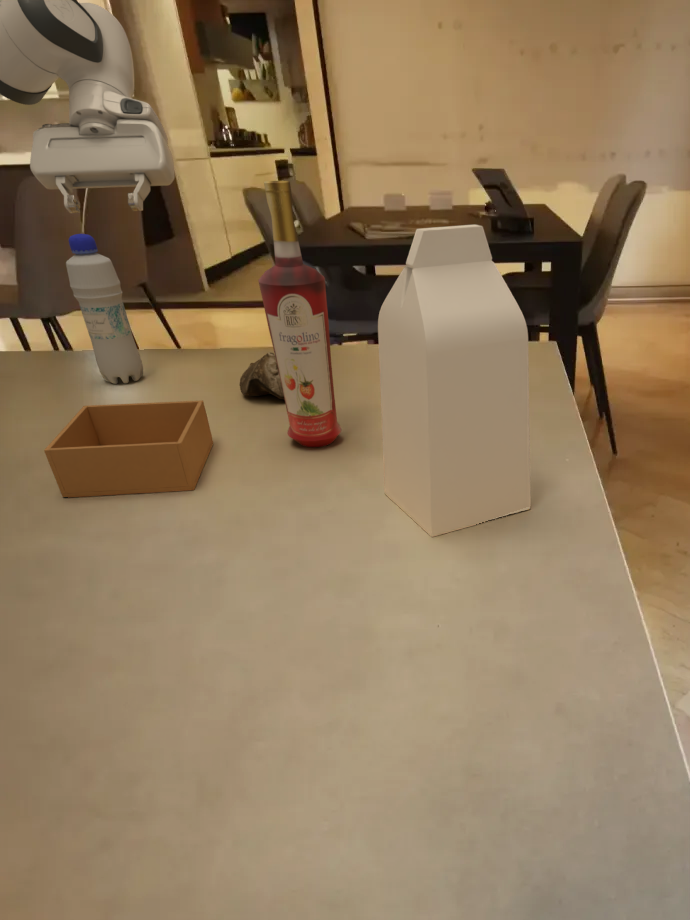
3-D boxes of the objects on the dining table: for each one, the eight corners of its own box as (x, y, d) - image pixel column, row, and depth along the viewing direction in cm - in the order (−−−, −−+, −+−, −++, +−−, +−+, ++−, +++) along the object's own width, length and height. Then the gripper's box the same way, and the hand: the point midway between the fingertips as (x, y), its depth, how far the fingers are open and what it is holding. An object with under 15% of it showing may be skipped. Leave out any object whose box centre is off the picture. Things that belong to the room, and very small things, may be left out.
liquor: (286, 453, 87) (238, 185, 70) (287, 432, 93) (243, 179, 75) (345, 449, 88) (312, 184, 71) (343, 428, 94) (312, 178, 77)
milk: (431, 537, 70) (417, 241, 54) (384, 493, 78) (360, 224, 62) (530, 509, 75) (544, 231, 59) (477, 471, 83) (476, 216, 67)
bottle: (91, 384, 108) (42, 236, 96) (121, 371, 113) (77, 229, 101) (128, 388, 107) (82, 238, 95) (156, 375, 112) (116, 231, 100)
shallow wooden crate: (62, 498, 77) (43, 450, 74) (99, 449, 88) (83, 405, 85) (194, 490, 79) (181, 443, 75) (213, 443, 90) (203, 400, 86)
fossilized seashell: (319, 375, 104) (274, 376, 109) (291, 340, 98) (245, 342, 104) (295, 415, 102) (250, 413, 107) (266, 381, 96) (220, 381, 102)
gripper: (20, 107, 103) (20, 196, 102) (160, 103, 103) (162, 191, 102) (46, 142, 109) (46, 225, 108) (178, 137, 110) (179, 221, 108)
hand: (103, 209), depth 105 cm, fingers open, 8 cm apart
